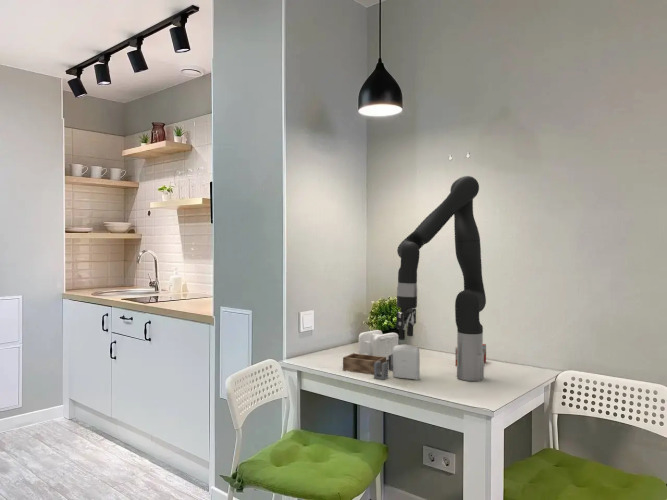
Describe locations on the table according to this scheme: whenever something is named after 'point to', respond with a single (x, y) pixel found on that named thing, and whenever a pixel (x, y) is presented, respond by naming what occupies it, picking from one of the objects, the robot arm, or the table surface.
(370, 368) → the wooden box
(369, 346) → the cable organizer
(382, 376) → the cable clip
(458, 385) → the table surface
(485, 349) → the medicine box
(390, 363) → the cable clip
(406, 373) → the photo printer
